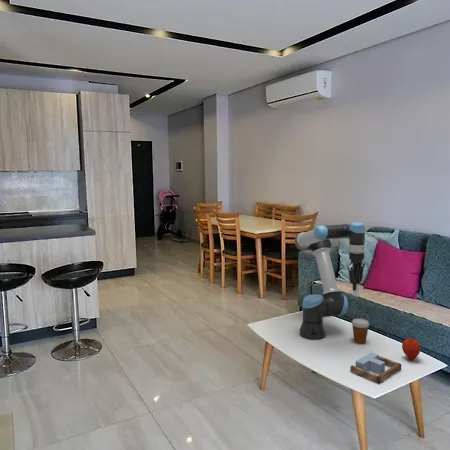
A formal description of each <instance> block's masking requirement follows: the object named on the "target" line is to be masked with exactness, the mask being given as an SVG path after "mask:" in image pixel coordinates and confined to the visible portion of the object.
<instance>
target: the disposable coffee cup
mask: <svg viewBox="0 0 450 450" xmlns="http://www.w3.org/2000/svg"><path fill="white" fill-rule="evenodd" d="M351 326H352V333H353V342H354V343H356V344H358V345H363V344H366V343H367V337H368V331H369V327H370V323H369V320H367V319H364V318H354V319H352V321H351Z"/></svg>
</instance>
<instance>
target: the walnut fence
mask: <svg viewBox="0 0 450 450" xmlns="http://www.w3.org/2000/svg"><path fill="white" fill-rule="evenodd" d="M379 360H380V361H383V362H385V367H389V368H388V369H387V370H385V372H383V373H382V374H376V373H374V372H373V373H372V372H371V371H366V370H363V369H361V368H358V367H356V365H353V364H351V365H350V373H352V374H354V375H357V376H358V377H362V378H364V379H366V380H369V381H371V382H374V383H375V384H378V385H381V384H383V383H384V382H385V381H387V380H388V379H390V378H391V377H392V376H394V375H396V374H397V373H398V372H400V371H401V370H402V363H401V362H400V363H399V362H397V361H394V360H392V359H390V358H389V359H388V358H387V357H383V356H381V355H379Z"/></svg>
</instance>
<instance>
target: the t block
mask: <svg viewBox="0 0 450 450" xmlns="http://www.w3.org/2000/svg"><path fill="white" fill-rule="evenodd" d="M379 356H380V355H379V354H377V353H375V352H372V351H371V352H369V353H368V354H366V355H364V356H362V357H360V358H359V359H357V360H356V361H355V366H356V367H358V368H361V369H363V370H366V371H368V372H371V373H372V372H373V374H376V375H380V374H382V373H383V372H385V371H386V370H385V369H386V365H385V362H383V361H380V360H379Z"/></svg>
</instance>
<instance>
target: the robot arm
mask: <svg viewBox="0 0 450 450" xmlns="http://www.w3.org/2000/svg"><path fill="white" fill-rule="evenodd" d="M349 223H350V224H349ZM349 223H345V222H344V223H340V224H330V225H329V224H326V225H325V224H324V225H323V224H321V225H316V226H315V227H314V229H312V230H310V231H309V230H308V231H304V232H303V231H302V232H300V233H297V234H296V235H295V237H294V244H295V246H296V247H297V248H298V249H300V250H301V251H302V250H303V251H311V252H312V254H313V256H315V259H316V263H317V269H318V273H319V277H320V282H321V286H322V290H323V292H322V294H317V293H314V294H308V295H305V296H304V298H303V300H302V304H301V305H302V306H301V307H302V323H301V325H300V328H299V335H300V337H302V338H304V339H307V340H315V341H317V340H322V339H325V337H326V336H327V335H326V333H327V332H326V330H325V326H324V323H323V320H324V318H330V317H331V318H332V317H340V316H344V315H346V314H347V312H348V309H349V301H348V298H347V296H346V295H343V294H342V291H341V290H340V289H339V288H338V285H337V280H336V275H335V271H334V268H333V267H334V266H333V263H332V260H331V255H330V252H331V250H332V248H333V240H338V239H347V240H348V239H349V242H348V244H349V245H348V251H349V253H348V259H349V260H350V264H349V265H350V266H347V267H346V268H347V270H348V277H349V284H351V285H352V296H353V297H359V296H360V295H359V293H360V292H359V291H360V285H362V281H363V275H364V271H365V270H364V268H365V265H366V263H363V261H364V260H365V244H366V243H365V241H366V240H365V238H366V236H365V235H366V228H365V227H366V225H365V223H364V222H358V221H357V222H355V221H353V222H349Z"/></svg>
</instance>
